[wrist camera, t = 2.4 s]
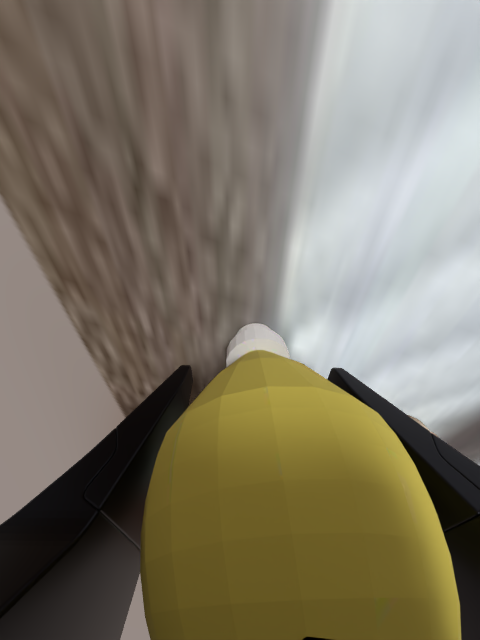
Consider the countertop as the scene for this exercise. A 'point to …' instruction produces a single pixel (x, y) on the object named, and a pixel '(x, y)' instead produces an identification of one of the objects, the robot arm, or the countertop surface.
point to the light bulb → (290, 515)
